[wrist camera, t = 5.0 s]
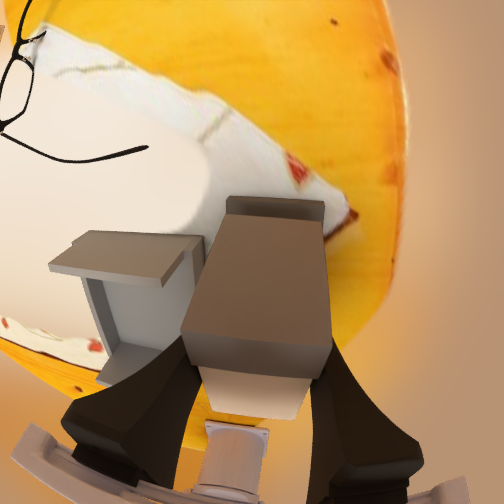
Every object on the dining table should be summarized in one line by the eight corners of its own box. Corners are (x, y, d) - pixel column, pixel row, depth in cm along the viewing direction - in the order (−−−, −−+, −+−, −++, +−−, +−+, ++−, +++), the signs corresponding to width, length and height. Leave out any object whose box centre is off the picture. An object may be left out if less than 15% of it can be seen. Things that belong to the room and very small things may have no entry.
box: (301, 323, 19) (296, 423, 13) (231, 317, 19) (209, 413, 14) (321, 221, 14) (332, 346, 8) (225, 214, 14) (179, 329, 9)
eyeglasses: (70, -23, 11) (43, -33, 7) (223, -32, 11) (208, -59, 8) (19, 132, 18) (-11, 140, 14) (144, 172, 18) (113, 184, 15)
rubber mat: (307, 325, 22) (307, 334, 21) (232, 319, 22) (229, 327, 21) (323, 201, 17) (324, 205, 16) (229, 196, 18) (225, 199, 17)
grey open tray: (213, 359, 25) (196, 410, 19) (119, 341, 26) (92, 381, 20) (203, 235, 19) (170, 279, 14) (89, 230, 21) (42, 262, 15)
